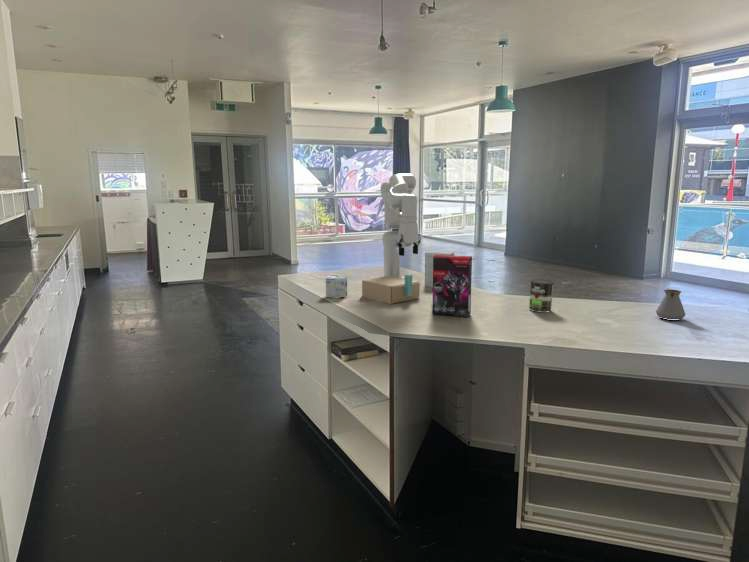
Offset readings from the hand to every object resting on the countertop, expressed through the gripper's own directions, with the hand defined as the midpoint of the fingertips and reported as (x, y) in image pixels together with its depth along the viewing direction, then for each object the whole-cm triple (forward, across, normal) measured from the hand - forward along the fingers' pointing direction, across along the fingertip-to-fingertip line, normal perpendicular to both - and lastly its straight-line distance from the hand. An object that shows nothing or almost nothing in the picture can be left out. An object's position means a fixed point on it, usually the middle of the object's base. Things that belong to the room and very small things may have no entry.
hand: (408, 254), depth 257 cm
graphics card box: (+25, +3, +31) cm, 39 cm away
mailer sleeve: (+24, 0, -13) cm, 28 cm away
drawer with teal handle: (+23, 0, -11) cm, 26 cm away
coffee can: (+25, -35, +54) cm, 69 cm away
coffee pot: (+25, -61, +101) cm, 121 cm away
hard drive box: (+24, -41, -16) cm, 50 cm away
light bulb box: (+24, +20, -33) cm, 46 cm away
